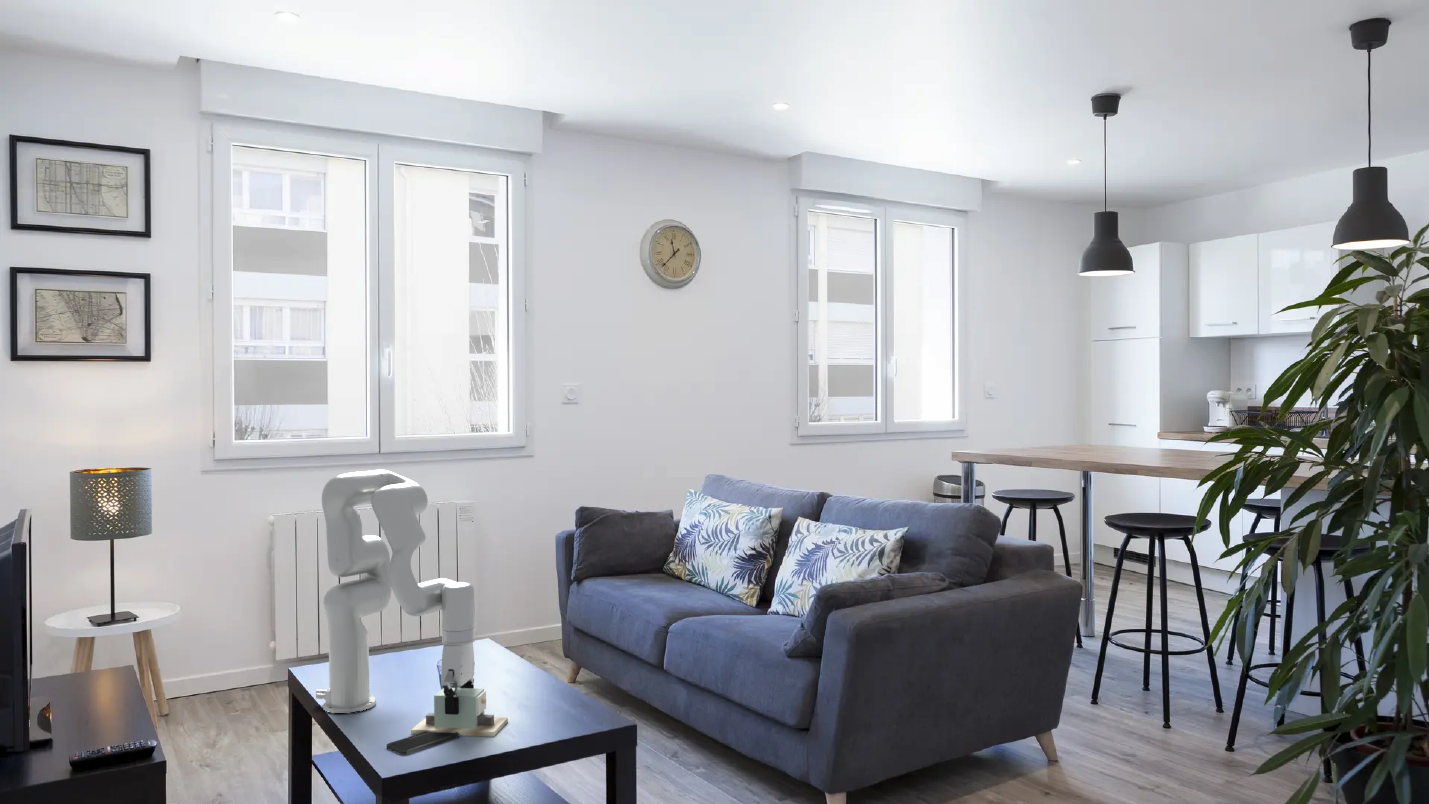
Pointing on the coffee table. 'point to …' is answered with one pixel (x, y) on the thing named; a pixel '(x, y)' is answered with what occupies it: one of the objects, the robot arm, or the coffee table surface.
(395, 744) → the phone
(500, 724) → the board
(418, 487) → the robot arm
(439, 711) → the mint green box
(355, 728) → the coffee table surface
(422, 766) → the coffee table surface
